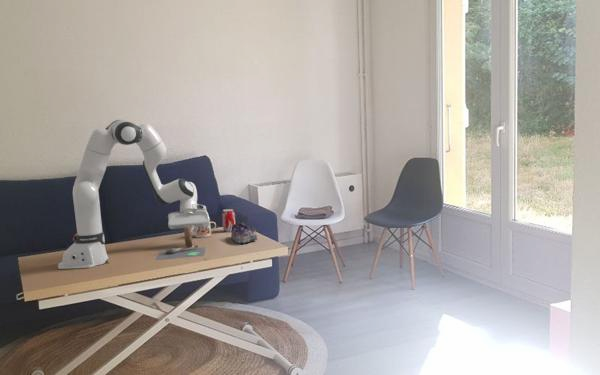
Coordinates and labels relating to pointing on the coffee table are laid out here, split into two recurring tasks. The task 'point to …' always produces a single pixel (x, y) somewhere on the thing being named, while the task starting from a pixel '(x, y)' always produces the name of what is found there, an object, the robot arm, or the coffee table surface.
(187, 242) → the tuning lever
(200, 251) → the dial plate
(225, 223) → the soda can
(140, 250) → the coffee table surface
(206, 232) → the teacup with lid
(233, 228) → the geode
